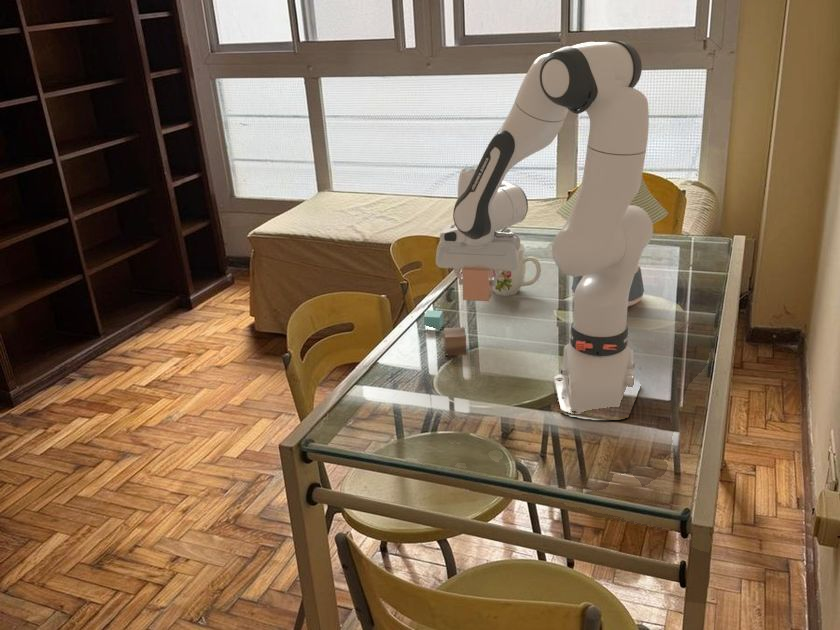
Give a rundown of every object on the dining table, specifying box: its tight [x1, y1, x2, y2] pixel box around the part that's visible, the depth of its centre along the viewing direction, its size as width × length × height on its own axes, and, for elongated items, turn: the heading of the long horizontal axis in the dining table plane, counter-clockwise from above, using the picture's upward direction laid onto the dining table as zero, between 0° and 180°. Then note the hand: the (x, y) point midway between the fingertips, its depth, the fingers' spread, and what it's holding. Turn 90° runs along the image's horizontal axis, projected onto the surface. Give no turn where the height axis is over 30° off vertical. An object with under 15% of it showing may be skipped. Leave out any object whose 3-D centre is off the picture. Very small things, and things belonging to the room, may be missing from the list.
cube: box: [423, 309, 444, 331], centre depth 206 cm, size 4×4×4 cm
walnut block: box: [443, 326, 467, 356], centre depth 194 cm, size 5×5×5 cm
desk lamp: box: [555, 176, 669, 307], centre depth 209 cm, size 26×28×42 cm
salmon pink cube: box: [461, 268, 494, 302], centre depth 198 cm, size 6×6×8 cm
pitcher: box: [493, 242, 542, 297], centre depth 224 cm, size 11×18×14 cm, turn 67°
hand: (477, 284), depth 198 cm, fingers closed on salmon pink cube, 6 cm apart
